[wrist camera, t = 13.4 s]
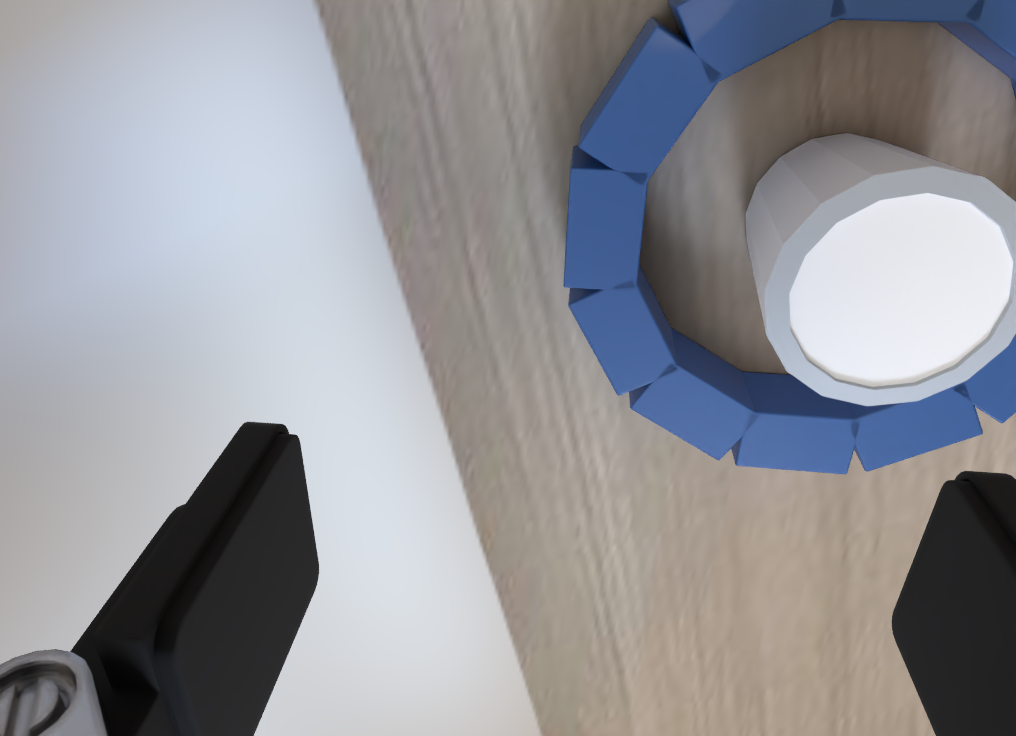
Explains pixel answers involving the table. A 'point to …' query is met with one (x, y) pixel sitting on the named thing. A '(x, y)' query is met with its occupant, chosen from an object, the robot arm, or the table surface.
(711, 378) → the ring
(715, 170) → the table surface
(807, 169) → the white cylinder
